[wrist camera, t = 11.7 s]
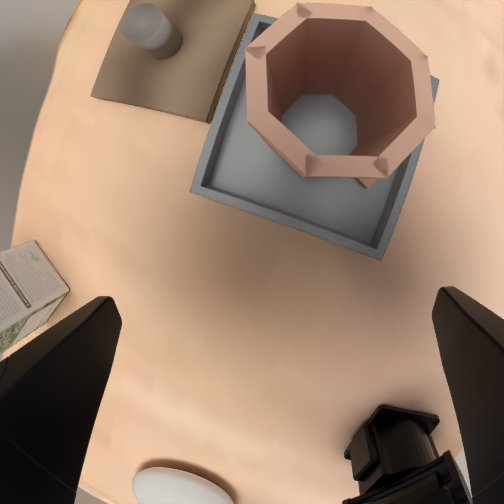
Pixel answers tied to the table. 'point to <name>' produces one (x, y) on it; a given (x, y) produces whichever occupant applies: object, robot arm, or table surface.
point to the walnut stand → (173, 55)
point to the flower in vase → (175, 488)
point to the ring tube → (341, 87)
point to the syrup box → (26, 292)
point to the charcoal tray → (287, 179)
